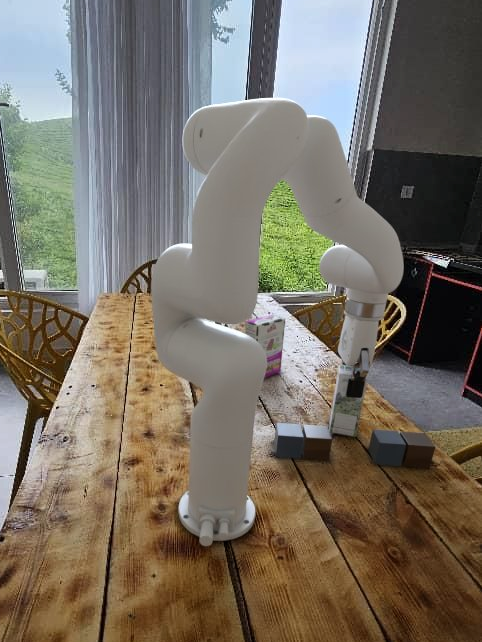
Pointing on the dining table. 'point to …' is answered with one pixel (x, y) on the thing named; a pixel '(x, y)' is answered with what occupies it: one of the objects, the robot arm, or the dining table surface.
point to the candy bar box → (269, 339)
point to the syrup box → (345, 405)
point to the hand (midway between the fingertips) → (349, 388)
